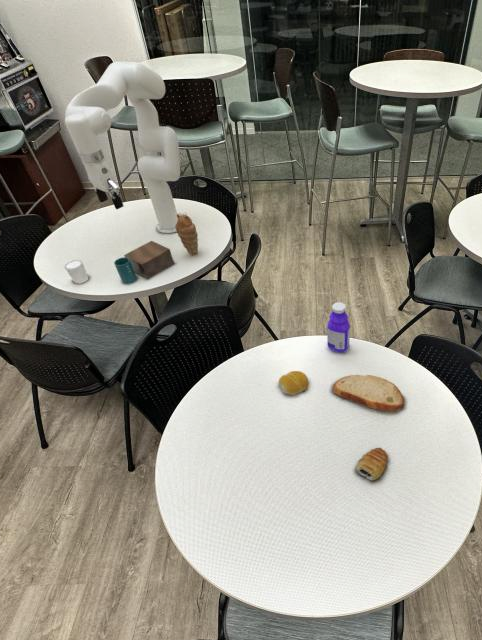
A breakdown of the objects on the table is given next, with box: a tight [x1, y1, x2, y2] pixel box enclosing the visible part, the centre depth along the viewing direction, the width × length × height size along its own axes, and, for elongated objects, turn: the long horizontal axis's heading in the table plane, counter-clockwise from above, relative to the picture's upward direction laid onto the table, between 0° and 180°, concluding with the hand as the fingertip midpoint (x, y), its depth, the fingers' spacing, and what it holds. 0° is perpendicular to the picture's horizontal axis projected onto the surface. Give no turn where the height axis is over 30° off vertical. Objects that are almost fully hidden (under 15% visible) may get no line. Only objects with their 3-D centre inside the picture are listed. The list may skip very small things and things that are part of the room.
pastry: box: [354, 447, 389, 481], centre depth 110 cm, size 9×7×4 cm
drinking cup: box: [113, 256, 138, 285], centre depth 169 cm, size 8×6×6 cm
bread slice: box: [332, 374, 405, 412], centre depth 126 cm, size 18×18×4 cm
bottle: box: [326, 302, 351, 354], centre depth 135 cm, size 7×6×17 cm
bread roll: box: [278, 370, 309, 396], centre depth 130 cm, size 8×9×4 cm
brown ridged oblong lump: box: [175, 213, 199, 256], centre depth 178 cm, size 9×8×18 cm
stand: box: [123, 240, 175, 280], centre depth 176 cm, size 14×12×7 cm
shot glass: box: [64, 259, 89, 284], centre depth 171 cm, size 7×7×7 cm
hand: (112, 204), depth 159 cm, fingers open, 9 cm apart
